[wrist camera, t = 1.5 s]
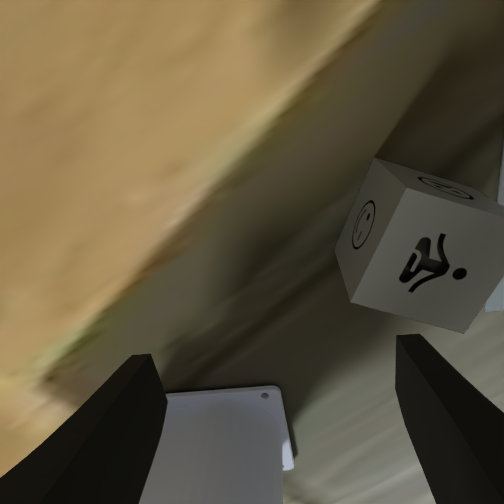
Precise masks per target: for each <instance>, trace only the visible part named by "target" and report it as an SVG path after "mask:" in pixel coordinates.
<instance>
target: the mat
mask: <svg viewBox="0 0 504 504" xmlns="http://www.w3.org/2000/svg"><path fill="white" fill-rule="evenodd" d="M497 203H499V204H500V205H502V206H503V207H504V140H503V149H502V158H501V166H500V175H499V184H498V193H497ZM500 310H504V277H503V278H502V280H501V281H500V283H499V284H498V285H497V287H496V288H495V290H494V291H493V293H492V294H491V295H490V297H489V298H488V300H487V301H486V303H485V308H484V311H485V312H490V311H500Z"/></svg>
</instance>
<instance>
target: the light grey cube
mask: <svg viewBox="0 0 504 504" xmlns="http://www.w3.org/2000/svg"><path fill="white" fill-rule="evenodd" d="M334 251H335V254H336V257H337V260H338V264H339V267H340V270H341V273H342V277H343V280H344V283H345V286H346V290H347V293H348V296H349V299H350V302H351V303H355V304H358V305H362V306H366V307H369V308H373V309H376V310H380V311H384V312H387V313H391V314H394V315H398V316H402V317H405V318H409V319H412V320H416V321H419V322H423V323H427V324H430V325H434V326H437V327H441V328H445V329H448V330H452V331H455V332H459V333H462V334H464V333H465V331H466V330H467V329H468V327H469V326H470V324H471V323H472V321H473V320H474V319H475V317H476V316H477V314H478V313H479V311H480V310H481V308H482V307H483V306H484V304H485V303H486V301H487V300H488V298H489V297H490V295H491V294H492V293H493V291H494V290H495V288H496V287H497V285H498V284H499V283H500V281H501V280H502V278H503V277H504V207H503V206H502V205H500V204H499V203H497V202H495V201H494V200H492V199H490V198H489V197H487V196H486V195H484V194H482V193H481V192H479V191H477V190H476V189H474V188H472V187H469V186H466V185H462V184H459V183H456V182H453V181H449V180H446V179H443V178H440V177H436V176H433V175H430V174H427V173H424V172H420V171H417V170H414V169H411V168H407V167H404V166H401V165H398V164H394V163H391V162H388V161H385V160H381V159H378V158H375V157H374V158H373V160H372V163H371V165H370V167H369V170H368V172H367V174H366V176H365V179H364V181H363V183H362V186H361V188H360V190H359V193H358V195H357V197H356V200H355V202H354V204H353V207H352V209H351V211H350V213H349V216H348V218H347V220H346V223H345V225H344V227H343V230H342V232H341V234H340V237H339V239H338V241H337V244H336V246H335V248H334Z"/></svg>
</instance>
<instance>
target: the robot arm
mask: <svg viewBox="0 0 504 504" xmlns="http://www.w3.org/2000/svg"><path fill="white" fill-rule="evenodd" d="M395 390H396V393H397V397H398V401H399V405H400V408H401V412H402V415H403V419H404V423H405V426H406V428H407V431H408V433H409V436H410V439H411V441H412V444H413V446H414V449H415V451H416V454H417V456H418V459H419V461H420V464H421V466H422V469H423V471H424V474H425V476H426V479H427V482H428V484H429V487H430V489H431V492H432V494H433V497H434V499H435V502H436V504H504V413H503V412H502V411H501V410H500V409H499V408H497V407H496V406H495V405H494V404H493V403H492V402H491V401H489V400H488V399H487V398H486V397H485V396H484V395H483V394H482V393H480V392H479V391H478V390H477V389H476V388H475V387H474V386H473V385H472V384H471V383H470V382H468V381H467V380H466V379H465V378H464V377H463V376H462V375H461V374H460V373H459V372H458V371H457V370H456V369H455V368H454V367H453V366H452V365H451V364H450V363H449V362H448V361H446V360H445V359H444V358H443V357H442V356H441V355H440V354H439V353H438V352H437V350H436V349H435V348H434V347H433V346H432V345H431V344H430V343H429V342H428V341H427V340H426V339H425V338H424V337H423V336H422V335H420V334H409V335H396V376H395ZM263 393H267V394H263ZM293 468H294V458H293V452H292V447H291V442H290V437H289V432H288V427H287V421H286V416H285V411H284V406H283V401H282V396H281V391H280V388H278V387H277V386H259V387H246V388H234V389H221V390H208V391H195V392H182V393H170V394H165V391H164V389H163V386H162V383H161V381H160V378H159V375H158V372H157V370H156V367H155V364H154V361H153V359H152V356H151V354H141V355H132V356H131V357H130V358H128V359H127V360H126V361H125V362H124V363H123V364H122V365H121V366H120V367H119V368H118V369H117V370H116V371H115V372H114V373H113V374H112V376H111V377H110V378H109V379H108V380H107V381H106V382H105V383H104V384H103V385H102V386H101V387H100V388H99V389H98V390H97V391H96V392H95V393H94V394H93V395H92V396H91V397H90V398H89V399H88V400H87V401H86V402H85V403H84V404H83V405H82V406H81V407H80V408H79V409H78V410H77V411H76V412H75V413H74V414H73V415H72V416H71V417H70V418H68V419H67V420H66V421H65V422H64V423H63V424H62V425H61V426H60V427H59V428H58V429H57V430H56V431H55V432H54V433H52V434H51V435H50V436H49V437H48V438H47V439H46V440H45V441H44V442H43V443H42V444H41V445H39V446H38V447H37V448H36V449H35V450H34V451H32V452H31V453H30V454H29V455H28V456H27V457H25V458H24V459H23V460H22V461H21V462H19V463H18V464H17V465H16V466H14V467H13V468H12V469H11V470H10V471H8V472H7V473H6V474H5V475H3V476H2V477H1V478H0V504H283V470H291V469H293Z"/></svg>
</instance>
